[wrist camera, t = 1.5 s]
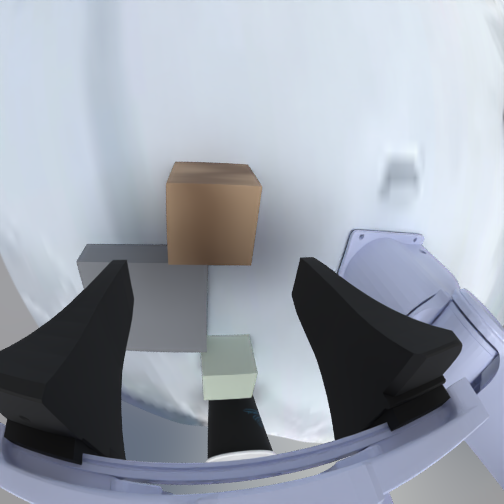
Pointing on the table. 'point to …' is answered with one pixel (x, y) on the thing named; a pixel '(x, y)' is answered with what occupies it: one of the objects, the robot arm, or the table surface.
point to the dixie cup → (236, 431)
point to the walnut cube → (211, 213)
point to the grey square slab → (156, 296)
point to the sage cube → (228, 367)
